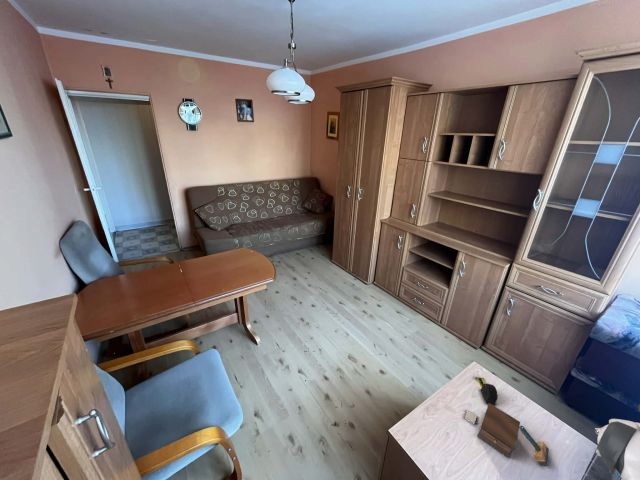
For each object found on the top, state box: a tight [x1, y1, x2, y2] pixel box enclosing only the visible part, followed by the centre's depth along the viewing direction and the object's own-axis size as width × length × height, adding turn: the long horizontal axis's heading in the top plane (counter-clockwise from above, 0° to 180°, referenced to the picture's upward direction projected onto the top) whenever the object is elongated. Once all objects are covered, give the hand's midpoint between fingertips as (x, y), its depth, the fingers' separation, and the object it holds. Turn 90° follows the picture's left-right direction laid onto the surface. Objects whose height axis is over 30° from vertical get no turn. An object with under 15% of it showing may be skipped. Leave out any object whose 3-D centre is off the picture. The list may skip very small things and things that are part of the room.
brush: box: [519, 425, 550, 466], centre depth 114 cm, size 8×3×13 cm
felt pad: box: [464, 410, 478, 425], centre depth 126 cm, size 4×4×2 cm
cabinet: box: [476, 403, 521, 458], centre depth 118 cm, size 15×13×8 cm
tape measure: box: [475, 376, 499, 406], centre depth 137 cm, size 15×4×8 cm, turn 171°
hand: (596, 441), depth 98 cm, fingers open, 8 cm apart
